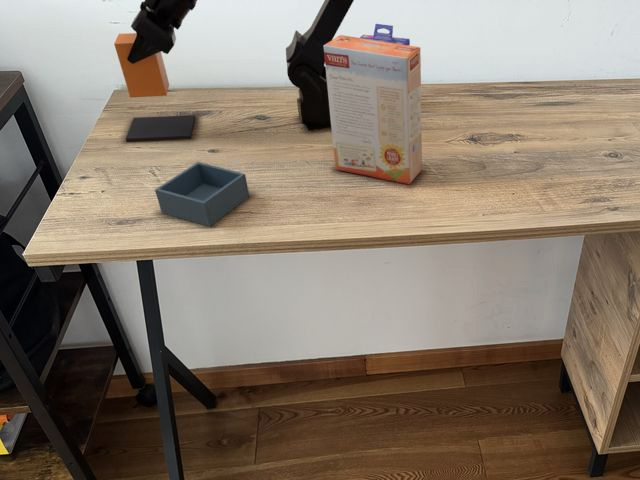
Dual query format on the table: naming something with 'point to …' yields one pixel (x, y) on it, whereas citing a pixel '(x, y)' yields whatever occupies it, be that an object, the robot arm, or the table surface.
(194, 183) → the tote
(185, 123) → the mat
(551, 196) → the table surface
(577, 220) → the table surface
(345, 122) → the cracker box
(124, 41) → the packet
